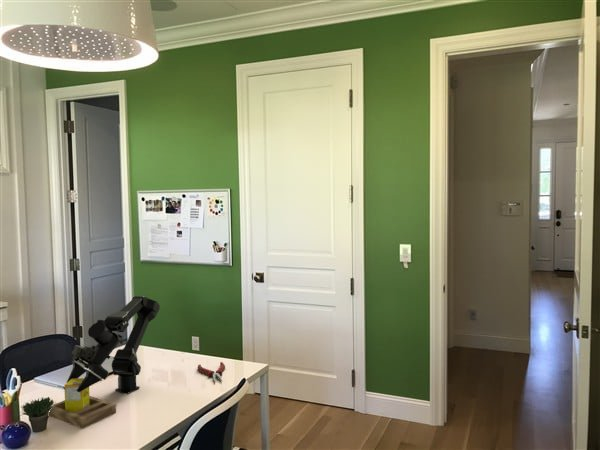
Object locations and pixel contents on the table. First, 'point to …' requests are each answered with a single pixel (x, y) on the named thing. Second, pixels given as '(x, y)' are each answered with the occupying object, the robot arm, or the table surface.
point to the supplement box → (76, 396)
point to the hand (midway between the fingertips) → (72, 387)
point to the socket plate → (84, 412)
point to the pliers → (212, 372)
